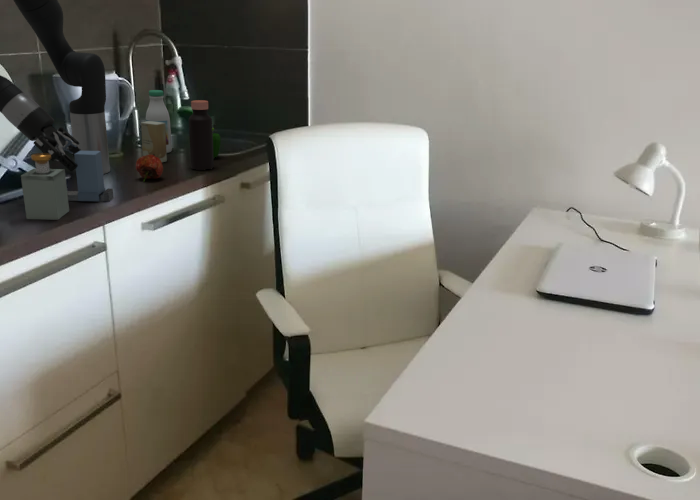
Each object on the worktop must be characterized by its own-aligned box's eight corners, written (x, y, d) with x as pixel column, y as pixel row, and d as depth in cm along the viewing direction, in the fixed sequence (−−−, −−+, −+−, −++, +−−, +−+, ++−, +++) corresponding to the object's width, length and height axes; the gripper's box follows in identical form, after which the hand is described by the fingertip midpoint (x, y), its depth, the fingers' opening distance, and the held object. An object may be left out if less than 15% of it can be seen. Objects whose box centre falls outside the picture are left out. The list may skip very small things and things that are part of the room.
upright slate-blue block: (85, 195, 173) (81, 150, 169) (105, 195, 173) (101, 150, 169) (78, 200, 167) (73, 154, 164) (98, 201, 168) (94, 155, 164)
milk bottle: (153, 148, 231) (149, 88, 224) (175, 150, 230) (172, 89, 223) (144, 153, 224) (139, 91, 217) (166, 154, 223) (162, 92, 216)
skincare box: (142, 161, 212) (139, 122, 208) (151, 159, 216) (148, 120, 212) (159, 164, 210) (157, 124, 206) (168, 161, 214) (165, 122, 210)
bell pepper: (188, 157, 220) (187, 126, 216) (209, 154, 226) (208, 124, 222) (205, 162, 214) (204, 130, 211) (225, 158, 220) (224, 127, 217)
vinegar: (194, 165, 209) (191, 99, 202) (216, 166, 209) (213, 100, 202) (188, 170, 203) (185, 102, 196) (211, 171, 203) (208, 103, 196)
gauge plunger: (39, 182, 156) (35, 152, 154) (57, 183, 156) (53, 153, 154) (32, 187, 153) (28, 156, 150) (50, 187, 153) (46, 156, 150)
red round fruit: (160, 190, 189) (173, 163, 194) (146, 173, 183) (160, 145, 189) (138, 190, 192) (151, 163, 197) (124, 173, 186) (138, 145, 191)
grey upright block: (39, 210, 160) (33, 168, 157) (69, 210, 160) (64, 169, 157) (26, 219, 153) (20, 175, 150) (58, 219, 154) (53, 176, 150)
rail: (31, 196, 171) (30, 186, 170) (113, 197, 172) (112, 188, 171) (25, 199, 168) (24, 190, 167) (109, 201, 169) (108, 192, 168)
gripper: (25, 109, 155) (81, 160, 160) (49, 102, 169) (100, 149, 173) (4, 132, 157) (60, 182, 161) (30, 123, 170) (81, 169, 175)
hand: (81, 165), depth 167 cm, fingers open, 8 cm apart
